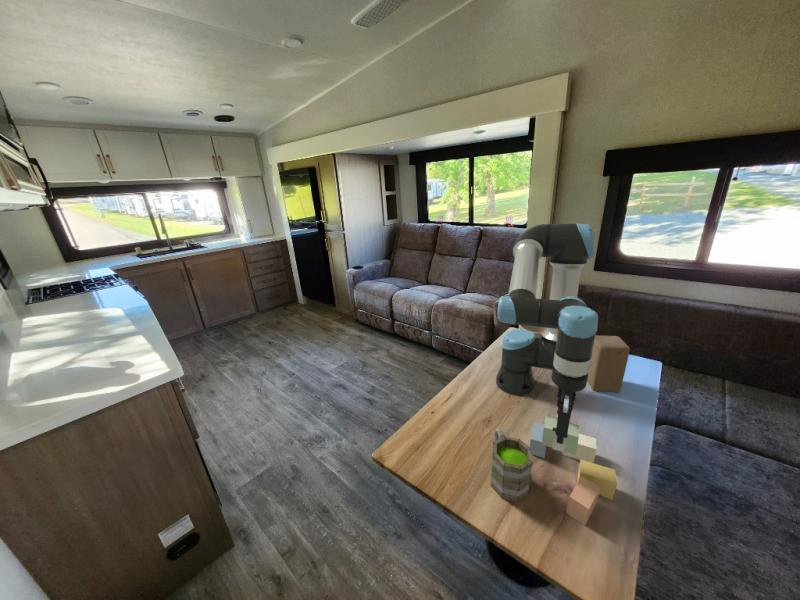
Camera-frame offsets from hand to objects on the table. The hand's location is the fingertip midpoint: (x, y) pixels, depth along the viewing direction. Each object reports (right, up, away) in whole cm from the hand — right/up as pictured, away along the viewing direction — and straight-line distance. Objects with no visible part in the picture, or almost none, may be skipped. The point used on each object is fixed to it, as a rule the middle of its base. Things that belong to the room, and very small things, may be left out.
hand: (558, 442), depth 82 cm
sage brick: (0, 0, 0) cm, 0 cm away
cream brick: (+12, -9, +11) cm, 19 cm away
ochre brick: (+11, -13, +2) cm, 17 cm away
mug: (-12, -13, +6) cm, 19 cm away
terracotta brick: (+4, -15, -4) cm, 16 cm away
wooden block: (+39, +4, +41) cm, 56 cm away
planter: (+25, +14, +70) cm, 75 cm away
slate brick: (+1, -8, +15) cm, 17 cm away
